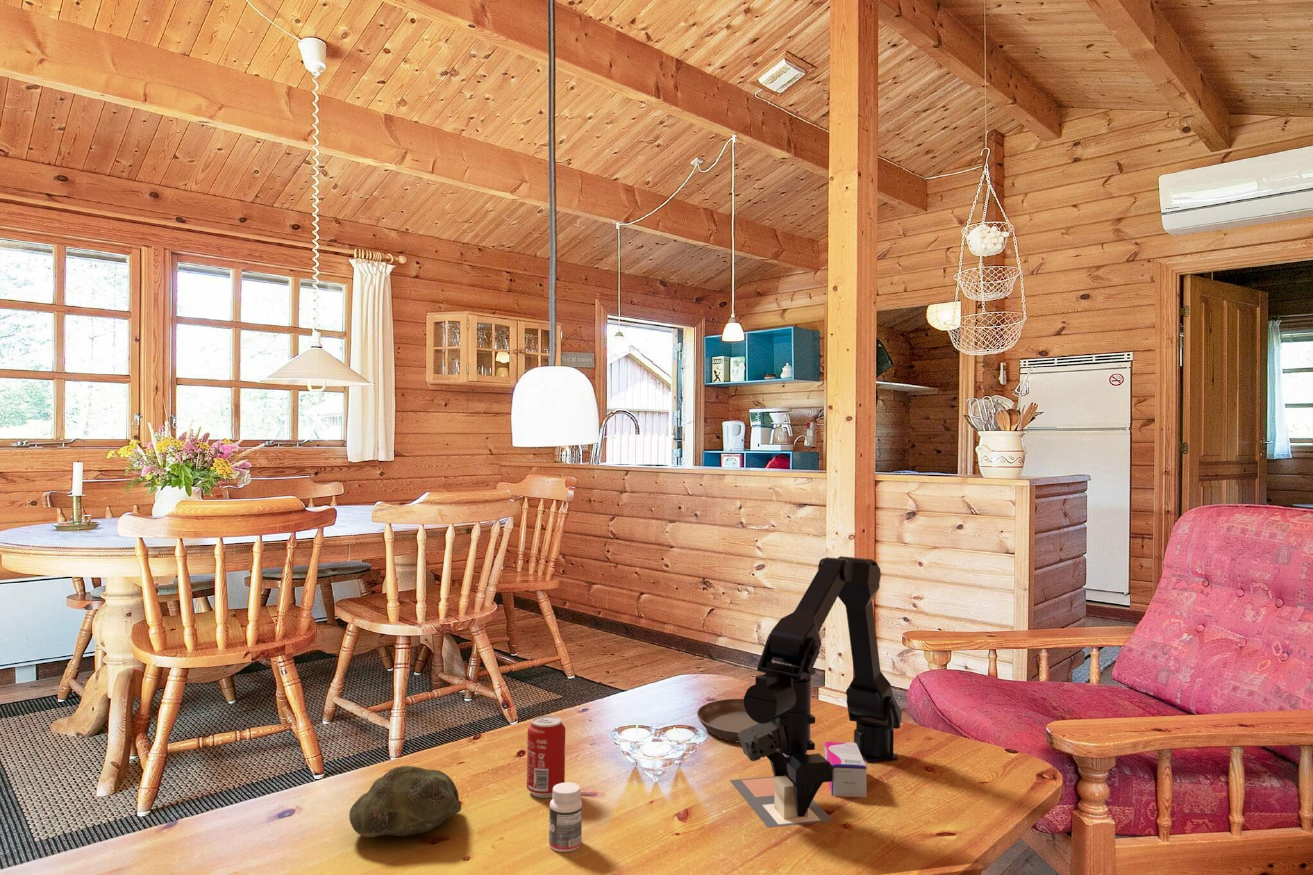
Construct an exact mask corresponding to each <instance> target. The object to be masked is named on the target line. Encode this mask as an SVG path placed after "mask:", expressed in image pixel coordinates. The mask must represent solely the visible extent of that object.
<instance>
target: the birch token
mask: <svg viewBox="0 0 1313 875" xmlns="http://www.w3.org/2000/svg"><path fill="white" fill-rule="evenodd" d="M774 808H775V809H776V811H777V812H778V813H779V814H780V815H781V816H782V817H783V819H791V818H801V817H798V816H797V813H796V806H795V798H794V789H793V783H792V782H791V781H790V780H789V779H788V778H787V777H786V776H777V777H775V795H774ZM803 817H808V810H807V812H806V814H805V816H803Z"/></svg>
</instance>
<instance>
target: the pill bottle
mask: <svg viewBox="0 0 1313 875" xmlns="http://www.w3.org/2000/svg"><path fill="white" fill-rule="evenodd" d="M580 797H581V786H580V785H579V784H578V783H575V782H567V781H566V782H565V783H560V784H557V785H555V786H554V787H553V794H552V797H551V800H550V801H549V819H548V820H549V821H548V822H549V824H548V827H549V828H548V829H549V831H548V832H549V833H548V845H549V847H550V849H552V850H553V851H555V852H559V853H569V852H574V851H576V850H578V849H579V848H580V847H581V845H582V842H583V841H582V839H583V837H582V831H583V830H582V829H583V828H582V827H583V826H582V825H583V824H582V822H583V801H582V799H581V798H580Z"/></svg>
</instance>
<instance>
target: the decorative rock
mask: <svg viewBox="0 0 1313 875" xmlns="http://www.w3.org/2000/svg"><path fill="white" fill-rule="evenodd" d="M461 810H462V805H461V802H460V799H459V792H458V789H457V787H456V784H455V782H454V781H453V780H452V778H451V777H450V776H448V774H446V773H445V772H444V771H442V770H441V771H440V770H437V769H427V768H423V767H419V766H414V765H404V766H403V765H401V766H397V767H393V768H392V769H390V770H388V771H387V772H386V773H385V774H384V775H383V776H381V777H378V778H377V779H376V780H374V782H373V783H372V785H371V786H370V788H369V790H368V791H367V792H365V793H363V794H362V795H361V796H360V797H359V798H358V799H357V800H355V802H354V803H353V804H352V806H351V807H350V809H349V816H348V817H349V822H350V824H351V827H352V829H353V830H354V831H355V832H356V833H357V834H358V835H360V836H361V837H365V838H374V837H380V836H396V837H398V836H399V837H407V836H412V835H414V836H418V835H421V834H424V833H427V832H428V831H432V830H433V829H435V828H437V827H439V826H440V825H441V824H443V823H444V821H446V820H447V819H448V818H451V817H452V816H454V815H456V814H459V813H460V811H461Z"/></svg>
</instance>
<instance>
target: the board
mask: <svg viewBox="0 0 1313 875" xmlns="http://www.w3.org/2000/svg"><path fill="white" fill-rule="evenodd" d="M729 782H730V783H731V785H733V787H734V788H735V789H736V790H737V791H738V793H739V795H741V796H742V798H743V799H744V800H745V801H746V803H747V804H748V805H749V807H750V808H751V809H752V810H753V811H754V813H755V814H756V815H757V817H758V818H759V819H760V821H762V822H763V824H764V825H765V826H766V827H767V828H776V827H777V828H778V827H788V826H794V825H795V826H797V825H805V824H815V823H825V822H834V821H835V820H834V818H832V816H830V815H829V814H828V813H827V812H826V810H824V809H823V807H822V806H820V805H819V804H818V803H817V802H816V801H815V800H814V799H813V800H812V802H811V804H810V806H809V808H808V817H801V818H791V819H783V817H782V816H781V815H780V814H779V813H778V812H777V811H776V809H775V808H774V795H775V779H774V775H773V776H762V777H751V778H740V779H730V780H729Z"/></svg>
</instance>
